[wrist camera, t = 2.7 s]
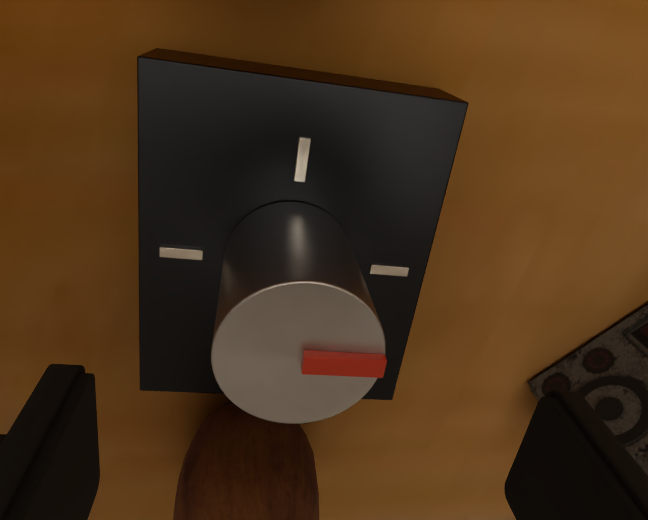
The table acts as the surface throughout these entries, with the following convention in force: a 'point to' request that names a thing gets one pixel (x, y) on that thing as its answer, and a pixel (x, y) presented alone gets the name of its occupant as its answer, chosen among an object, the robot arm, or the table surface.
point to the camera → (610, 381)
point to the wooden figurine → (247, 471)
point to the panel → (278, 190)
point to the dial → (294, 318)
